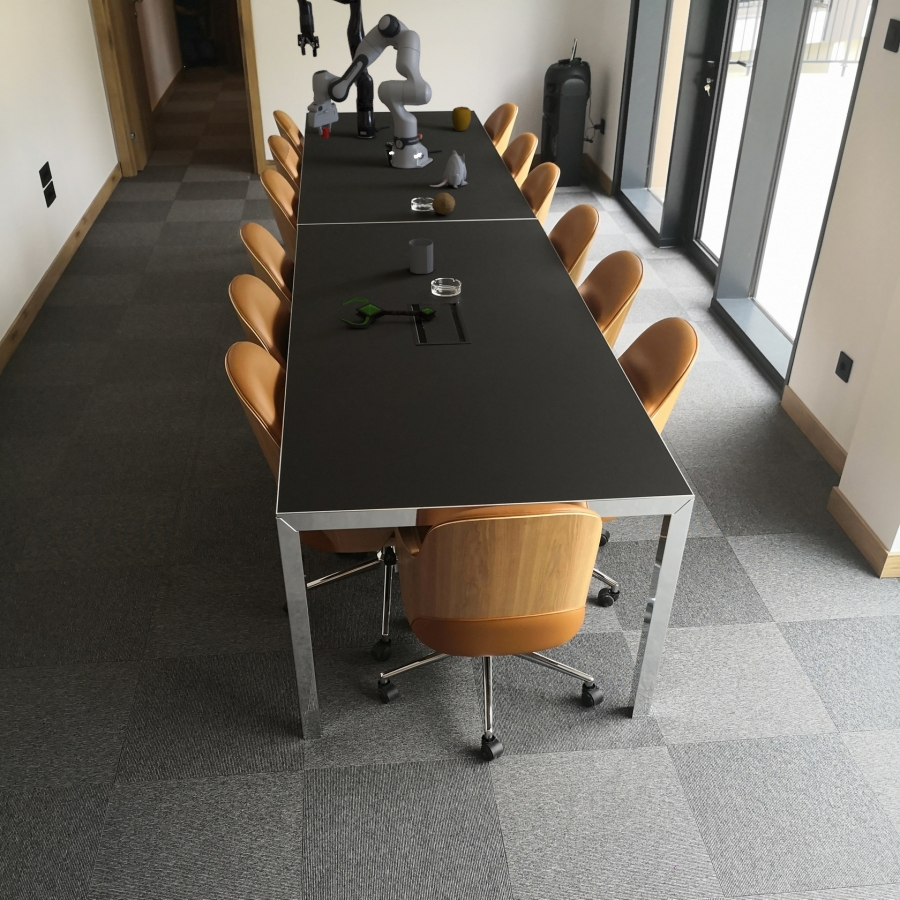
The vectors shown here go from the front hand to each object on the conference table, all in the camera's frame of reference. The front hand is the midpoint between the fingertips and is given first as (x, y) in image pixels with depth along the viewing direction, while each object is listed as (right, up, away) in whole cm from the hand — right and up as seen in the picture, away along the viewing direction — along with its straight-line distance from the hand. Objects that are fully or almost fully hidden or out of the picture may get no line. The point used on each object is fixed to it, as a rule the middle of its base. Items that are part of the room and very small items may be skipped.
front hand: (324, 133), depth 446 cm
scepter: (+45, -122, -174) cm, 218 cm away
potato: (+62, -64, -83) cm, 122 cm away
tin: (0, -1, +1) cm, 2 cm away
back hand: (-12, +52, +26) cm, 59 cm away
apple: (+71, +18, +45) cm, 86 cm away
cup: (+54, -99, -137) cm, 178 cm away
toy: (+63, -44, -52) cm, 93 cm away
